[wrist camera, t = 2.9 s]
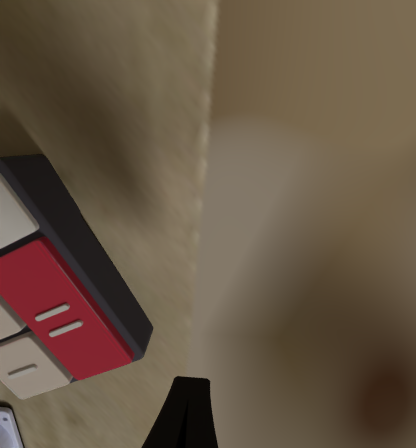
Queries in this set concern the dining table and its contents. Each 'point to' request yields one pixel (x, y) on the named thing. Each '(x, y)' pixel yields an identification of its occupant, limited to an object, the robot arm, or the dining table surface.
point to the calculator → (57, 288)
